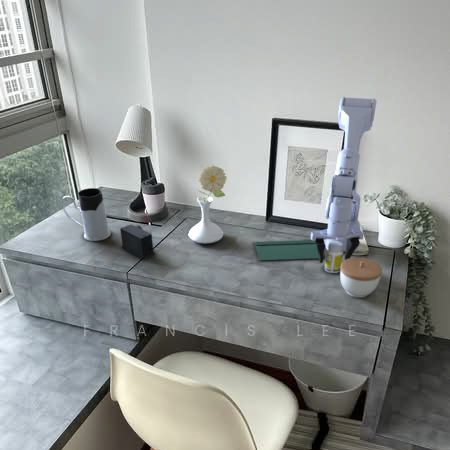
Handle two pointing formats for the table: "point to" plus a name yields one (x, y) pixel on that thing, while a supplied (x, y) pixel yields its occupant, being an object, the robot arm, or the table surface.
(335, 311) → the table surface
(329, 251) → the supplement bottle
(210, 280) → the table surface
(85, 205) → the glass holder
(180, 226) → the table surface
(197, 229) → the flower in vase
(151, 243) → the digital camera
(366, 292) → the trinket box
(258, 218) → the table surface
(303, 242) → the green board
